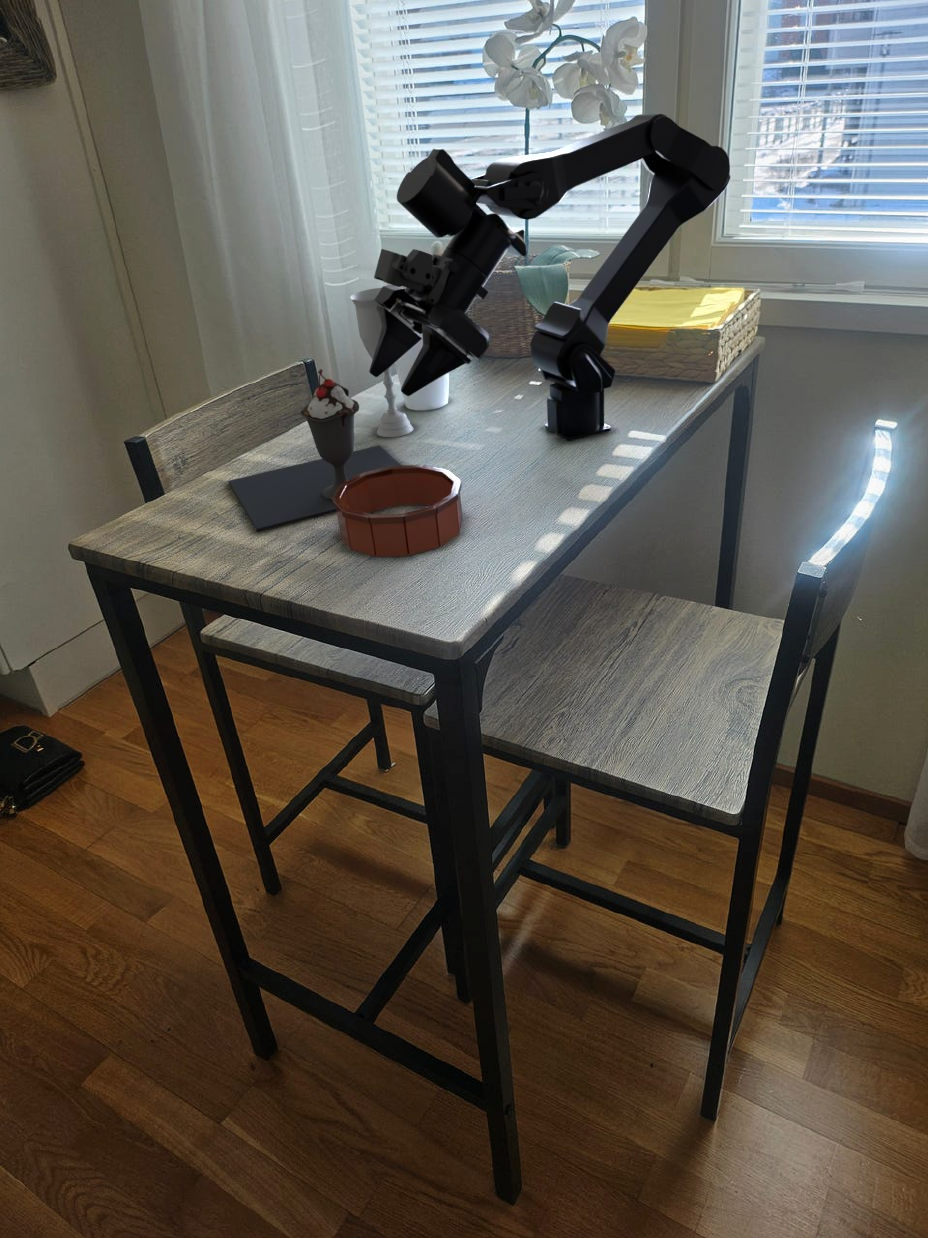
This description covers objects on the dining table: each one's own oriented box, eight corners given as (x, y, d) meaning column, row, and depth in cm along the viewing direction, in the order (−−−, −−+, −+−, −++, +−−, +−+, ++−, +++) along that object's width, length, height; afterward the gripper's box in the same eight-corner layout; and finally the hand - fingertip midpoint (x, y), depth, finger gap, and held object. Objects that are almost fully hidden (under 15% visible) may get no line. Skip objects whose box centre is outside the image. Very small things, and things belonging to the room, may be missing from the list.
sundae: (332, 509, 99) (309, 377, 91) (305, 492, 104) (280, 365, 96) (382, 491, 102) (363, 362, 94) (353, 476, 107) (333, 351, 99)
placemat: (379, 447, 115) (379, 445, 115) (425, 489, 103) (424, 485, 102) (228, 483, 109) (228, 480, 109) (257, 532, 97) (256, 528, 96)
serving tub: (435, 492, 102) (431, 455, 99) (483, 535, 91) (480, 496, 89) (326, 520, 98) (319, 483, 95) (363, 569, 87) (357, 528, 85)
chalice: (412, 439, 117) (395, 299, 107) (363, 440, 118) (342, 301, 109) (425, 420, 123) (410, 286, 113) (378, 421, 124) (360, 288, 115)
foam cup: (457, 411, 125) (449, 317, 118) (393, 416, 126) (380, 323, 119) (458, 390, 133) (450, 301, 126) (398, 395, 134) (387, 307, 127)
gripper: (380, 209, 100) (305, 327, 102) (453, 224, 85) (364, 361, 87) (448, 271, 107) (376, 380, 109) (526, 294, 92) (442, 420, 94)
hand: (387, 383), depth 100 cm, fingers open, 9 cm apart
